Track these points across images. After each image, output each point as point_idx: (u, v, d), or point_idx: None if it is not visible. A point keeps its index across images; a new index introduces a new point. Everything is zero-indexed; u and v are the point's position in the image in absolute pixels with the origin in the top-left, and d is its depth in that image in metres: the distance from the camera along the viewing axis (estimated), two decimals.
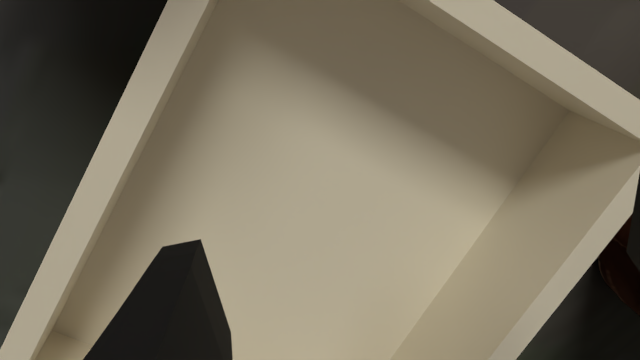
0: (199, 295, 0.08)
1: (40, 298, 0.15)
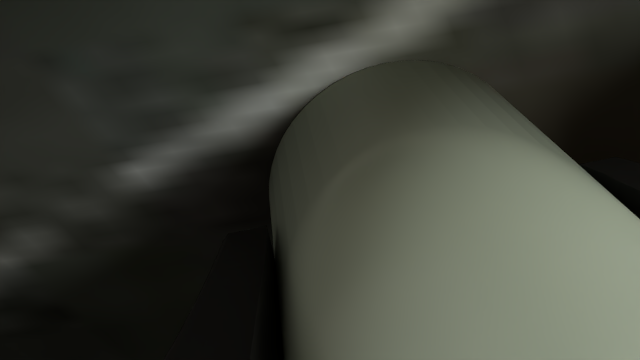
0: (272, 280, 0.08)
1: None
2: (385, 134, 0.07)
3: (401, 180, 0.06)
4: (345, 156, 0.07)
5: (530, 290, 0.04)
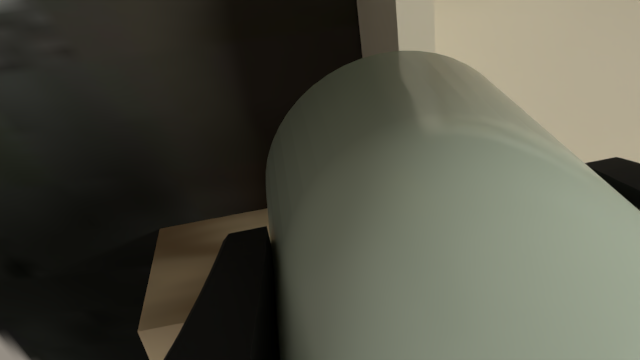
0: (271, 281, 0.08)
1: None
2: (377, 121, 0.07)
3: (391, 165, 0.06)
4: (338, 144, 0.08)
5: (513, 264, 0.05)
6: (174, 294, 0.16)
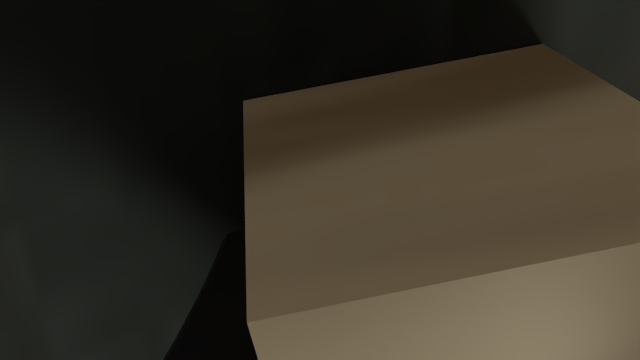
0: None
1: None
2: None
3: None
4: None
5: None
6: None
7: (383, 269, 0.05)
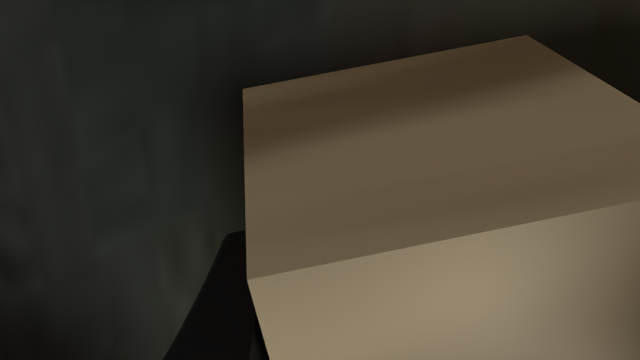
0: None
1: None
2: None
3: None
4: None
5: None
6: None
7: (370, 233, 0.05)
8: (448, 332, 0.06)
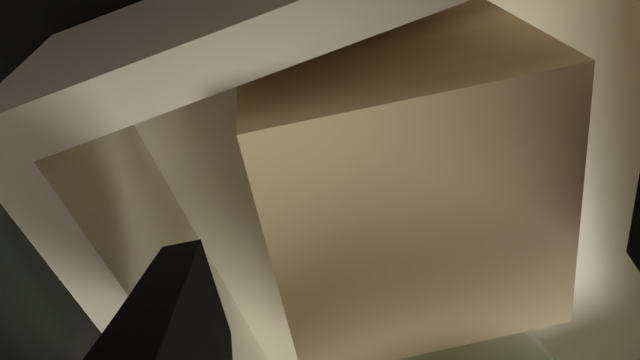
0: (199, 295, 0.08)
1: None
2: None
3: (536, 349, 0.12)
4: None
5: None
6: None
7: (323, 107, 0.08)
8: (383, 182, 0.08)
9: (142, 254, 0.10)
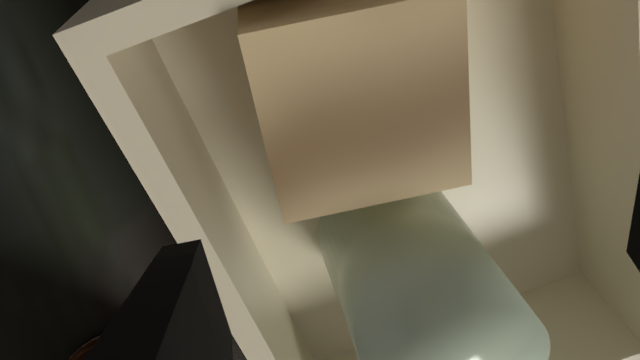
0: (199, 295, 0.08)
1: None
2: (437, 207, 0.18)
3: (449, 227, 0.17)
4: (419, 205, 0.17)
5: (498, 277, 0.15)
6: None
7: (293, 19, 0.12)
8: (333, 71, 0.12)
9: (170, 140, 0.15)
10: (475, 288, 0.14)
